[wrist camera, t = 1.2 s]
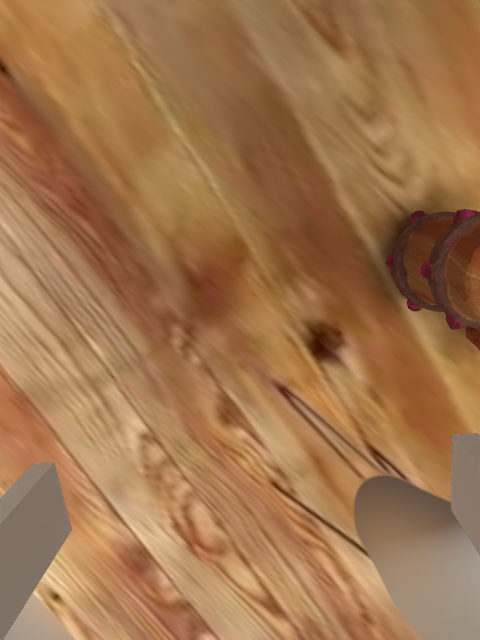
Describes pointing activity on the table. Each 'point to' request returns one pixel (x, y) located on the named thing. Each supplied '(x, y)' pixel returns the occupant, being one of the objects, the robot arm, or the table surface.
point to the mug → (441, 267)
